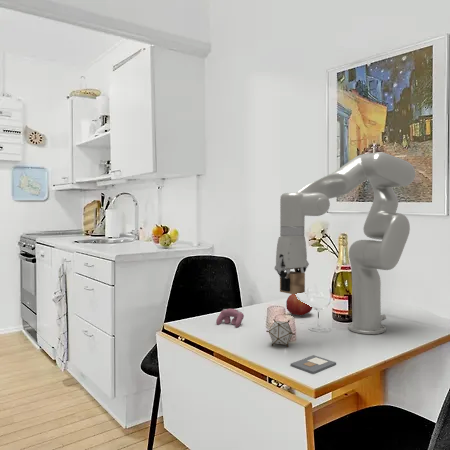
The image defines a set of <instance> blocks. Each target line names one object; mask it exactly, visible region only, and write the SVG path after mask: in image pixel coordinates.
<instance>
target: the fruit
mask: <svg viewBox="0 0 450 450" xmlns="http://www.w3.org/2000/svg"><path fill="white" fill-rule="evenodd" d="M285 303H286V305H285V307H286V309H287V311H288V312H289V313H290V315H291V314H292V315H295V316H300V315H301V316H305V315H307V314H309V313H310V312H311V311H312V310H313V307H310V306H309V305H307V304H305V303H303V302H301V301H300V300H298V299H297V297H296V295H295V294H290V295H289V296H288V297H287V299H286V302H285Z"/></svg>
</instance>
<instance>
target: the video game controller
mask: <svg viewBox="0 0 450 450" xmlns="http://www.w3.org/2000/svg"><path fill="white" fill-rule="evenodd" d="M244 317H245V315H244V313H242V312H241V311H240V310H238V309H235V308H223V309H222V310H221V311H220V313H219V315H218V316H217V318H216V322H215V323H216V325H218V326H219V325H220V324H222V322H223V321H224V323H225V324H228V325H229V324H230V323H231V324H232V325H233V326H234V327H235V328H239V327H240V325H241V324H242V322H243V319H244ZM231 318H232V319H231Z"/></svg>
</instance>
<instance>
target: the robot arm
mask: <svg viewBox="0 0 450 450" xmlns="http://www.w3.org/2000/svg"><path fill="white" fill-rule="evenodd" d="M415 178H416V170H415V168H414V166H413V165H412V164H411V163H410V162H409V161H407V160H405V159H402V158H400V157H398V156H394V155H392V154H389V153H386V152H382V151H381V152H380V151H379V152H378V151H377V152H370V153H363V154H359V155H357V156H354V158H352V159H351V160H349V161H347V162H346V163H345V164H343V165H342V166H341V167H339V168H338V169H336V170H335V171H333V172H331V173H329V174H327V175H326V176H325V175H324V176H323V177H321V178H319V179H317V180H314V181H312V182H310V183H308V184H307V185H304V187H302V188H301V189H300V190H298V191H296V192H285V193H282V194H281V195H280V202H279V203H280V204H279V205H280V208H279V209H280V216H279V218H280V220H279V221H280V222H279V223H280V224H279V225H280V226H279V230H280V231H279V233H280V235H279V236H278V239H277V243H276V251H275V253H276V254H275V266H274V270H275V271H276V273H277V274H278V276H279V279H280V278H281V290H282V291H287V292H289V291H290V279H288V278H289V274H290V271H291V270H293V271H294V272H301V273H305V272H306V271H307V269H308V268H309V265H310V263H309V261H308V260H307V257H308V256H307V253H308V251H307V242H306V237H305V222H306V221H305V216H306V217H307V216H308V217H320V216H323V215H324V214H326V213H327V212H328V211H329V209H330V205H331V203H330V199H335V198H338V197H339V198H340V197H342V196H345V195H347V194H349V193H350V192H352V191H353V190H355V189H356V188H357V187H358V186H359V185H361V184H363V183H364V182H365V181H367V180H368V181H369V184H370V186H371V189H372V192H373V201H372V204H371V207H370V208H369V211H368V214H367V217H366V218H365V222H364V224H363V233H364V236H366V237H367V238H369V239H359V240H356V241H354V242H353V243H352V244H351V245H350V247H349V249H348V259H349V263H350V269H351V297H352V299H351V302H352V303H351V307H352V308H351V309H352V310H351V311H352V313H351V315H352V317H351V318H352V319H351V320H352V322H350V323H348V325H347V329H348V330H349V331H351V332H353V333H356V334H363V335H378V334H382V333H385V332H386V329H387V327H386V326H385V325H384V324H382V322H383V321H385V320H386V319H387V315H385V314H381V310H382V309H381V307H382V305H381V304H382V303H381V302H382V301H381V296H382V295H381V290H382V289H381V287H382V286H381V285H382V284H381V283H382V282H381V277H380V276H381V275H380V274H379V270H380V271H381V270H382V271H390V270H393V269H394V268H395V267H397V264H399V261H400V259H401V256H402V254H403V251H404V249H405V247H406V243H407V241H408V239H409V235H410V231H411V227H410V221H409V219H408V217H407V216H406V215H405V214H402V213H400V212H397V210H398V206H399V198H398V197H397V195H396V193H395V191H394V188H397V187H399V188H401V187H407V186H409V185H411V184H412V183H413V182H414V180H415ZM285 272H286V273H285ZM305 274H306V273H305Z"/></svg>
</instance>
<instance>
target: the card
mask: <svg viewBox="0 0 450 450" xmlns="http://www.w3.org/2000/svg"><path fill="white" fill-rule="evenodd" d="M289 364H290V366H291V367H293V368H296V369H298V370H301V371H304V372H306V373H309V374H312V375H315V374H317V373H319V372H322V371H324V370H326V369H329V368H332V367H334V366H337V362H336V361H333V360H329V359H327V358H325V357H321V356H317V355H315V354H313V355H310V356H308V357H304V358H302V359H298V360H297V361H293V362H291V363H289Z"/></svg>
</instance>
